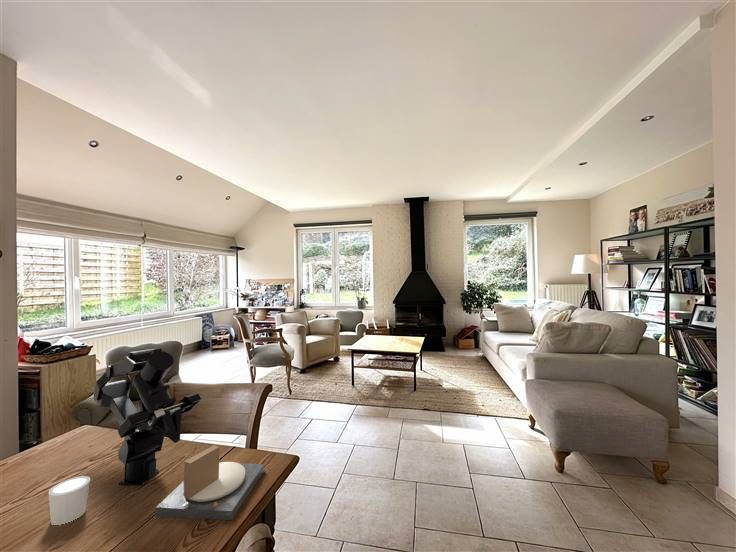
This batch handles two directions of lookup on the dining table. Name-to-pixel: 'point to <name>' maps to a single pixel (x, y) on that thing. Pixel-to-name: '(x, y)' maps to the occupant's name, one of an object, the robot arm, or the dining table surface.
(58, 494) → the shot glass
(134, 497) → the dining table surface
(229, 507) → the dial plate
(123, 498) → the dining table surface
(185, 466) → the dial
